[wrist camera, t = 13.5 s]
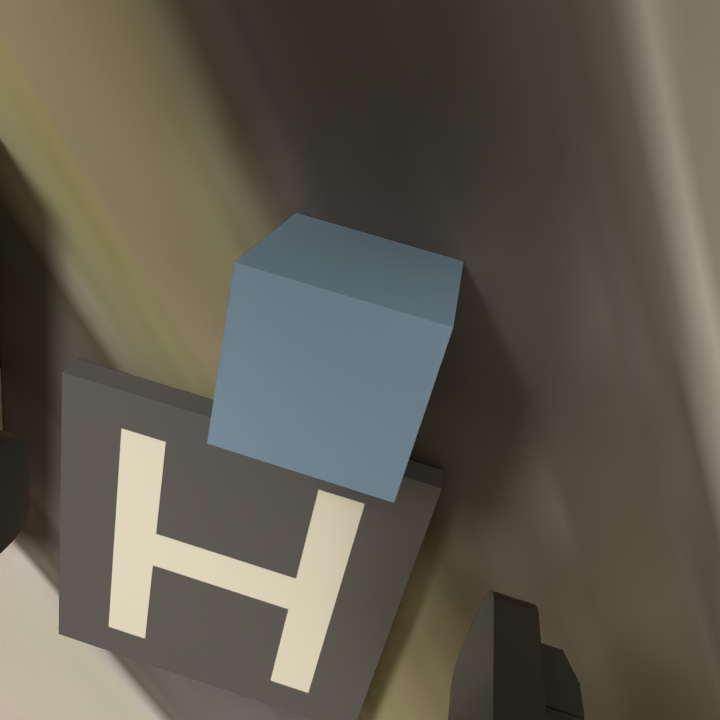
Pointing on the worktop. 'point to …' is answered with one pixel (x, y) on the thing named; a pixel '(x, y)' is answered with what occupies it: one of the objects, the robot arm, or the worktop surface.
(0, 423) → the tray
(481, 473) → the worktop surface
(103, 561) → the letter mat
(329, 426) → the slate cube
